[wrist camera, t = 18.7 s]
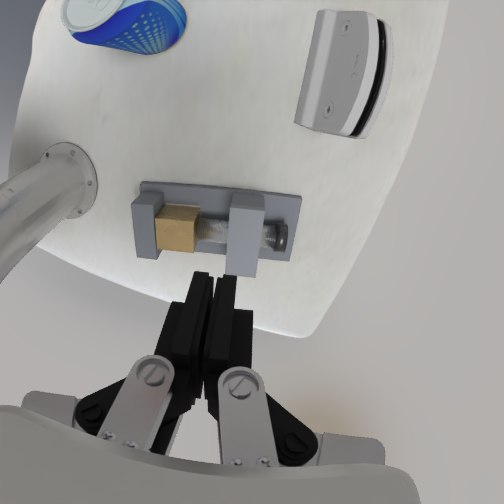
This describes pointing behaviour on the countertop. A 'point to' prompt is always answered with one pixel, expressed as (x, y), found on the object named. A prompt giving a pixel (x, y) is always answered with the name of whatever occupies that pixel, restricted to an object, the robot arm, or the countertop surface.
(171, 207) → the block
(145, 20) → the beer can
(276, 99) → the countertop surface
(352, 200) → the countertop surface
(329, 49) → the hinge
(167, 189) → the grey u-shaped stand
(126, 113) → the countertop surface
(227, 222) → the shaft
